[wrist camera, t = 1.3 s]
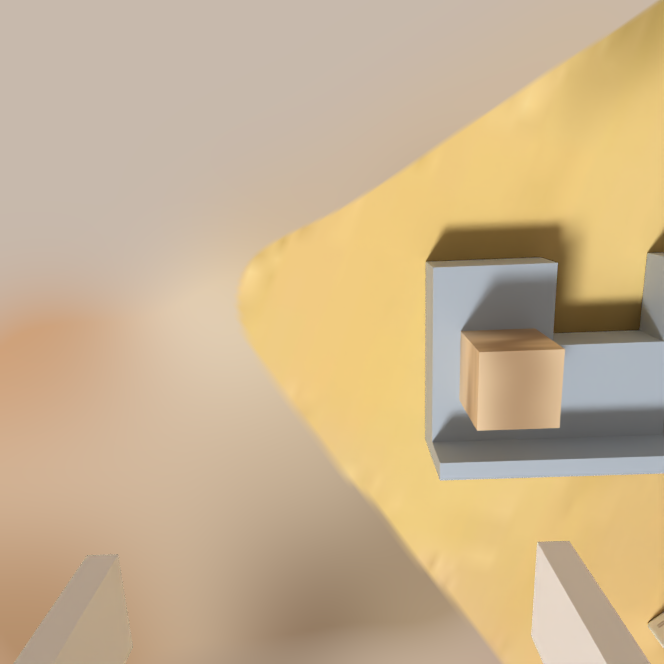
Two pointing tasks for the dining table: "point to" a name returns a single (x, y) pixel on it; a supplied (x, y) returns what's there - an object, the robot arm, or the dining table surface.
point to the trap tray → (578, 377)
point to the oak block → (511, 379)
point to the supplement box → (658, 628)
